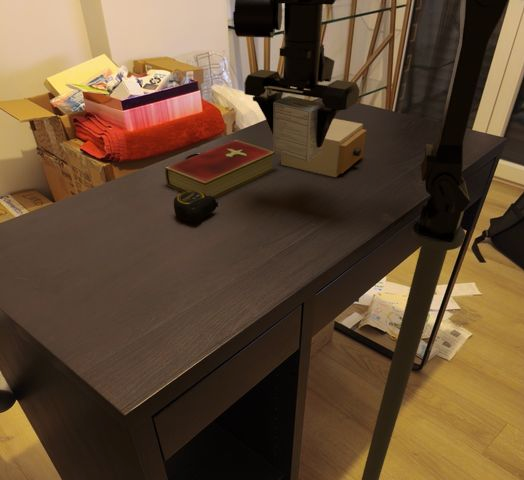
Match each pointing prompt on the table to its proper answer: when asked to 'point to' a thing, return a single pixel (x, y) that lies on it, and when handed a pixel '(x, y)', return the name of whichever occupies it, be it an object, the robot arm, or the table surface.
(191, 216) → the tape measure
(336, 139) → the cabinet
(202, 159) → the hardcover book
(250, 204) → the table surface
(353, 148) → the drawer
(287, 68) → the robot arm
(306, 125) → the medicine box
